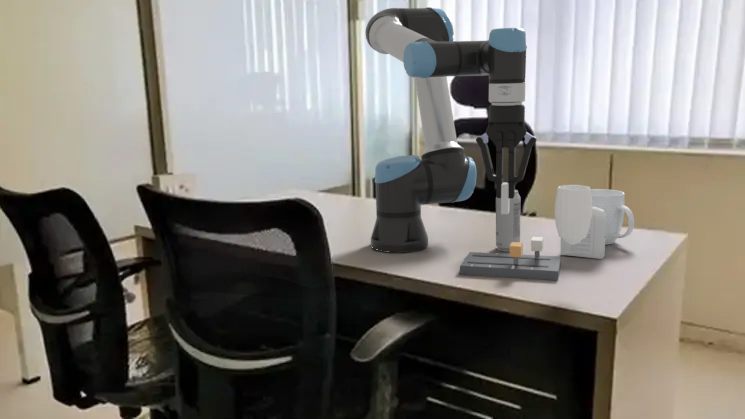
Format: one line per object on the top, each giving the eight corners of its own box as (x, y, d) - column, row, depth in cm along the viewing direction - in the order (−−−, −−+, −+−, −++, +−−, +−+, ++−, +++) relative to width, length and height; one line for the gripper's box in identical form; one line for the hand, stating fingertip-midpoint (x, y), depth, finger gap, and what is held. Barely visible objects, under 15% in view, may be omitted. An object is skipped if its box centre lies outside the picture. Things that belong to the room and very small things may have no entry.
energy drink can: (499, 245, 169) (500, 188, 166) (522, 247, 166) (523, 189, 163) (492, 250, 164) (492, 192, 161) (516, 253, 161) (516, 193, 158)
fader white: (530, 258, 147) (531, 240, 146) (532, 254, 150) (532, 236, 149) (541, 259, 146) (542, 240, 145) (543, 255, 149) (543, 237, 148)
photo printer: (606, 255, 156) (607, 205, 153) (603, 260, 152) (604, 208, 150) (562, 251, 161) (563, 202, 158) (558, 256, 157) (559, 205, 155)
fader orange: (509, 265, 142) (509, 246, 142) (511, 260, 146) (511, 242, 145) (520, 265, 142) (520, 246, 141) (522, 261, 145) (522, 242, 144)
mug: (645, 245, 164) (647, 194, 161) (617, 252, 158) (619, 199, 156) (596, 235, 176) (597, 187, 174) (568, 241, 170) (570, 192, 168)
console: (460, 274, 145) (459, 265, 145) (469, 259, 156) (469, 251, 156) (557, 280, 138) (558, 270, 138) (560, 264, 150) (561, 255, 149)
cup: (563, 294, 130) (565, 191, 126) (547, 283, 137) (548, 185, 133) (596, 290, 131) (600, 188, 127) (579, 280, 138) (581, 183, 134)
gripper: (472, 105, 136) (472, 215, 141) (536, 104, 132) (534, 217, 137) (478, 103, 143) (478, 208, 148) (539, 102, 139) (537, 210, 144)
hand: (505, 212), depth 143 cm, fingers closed
